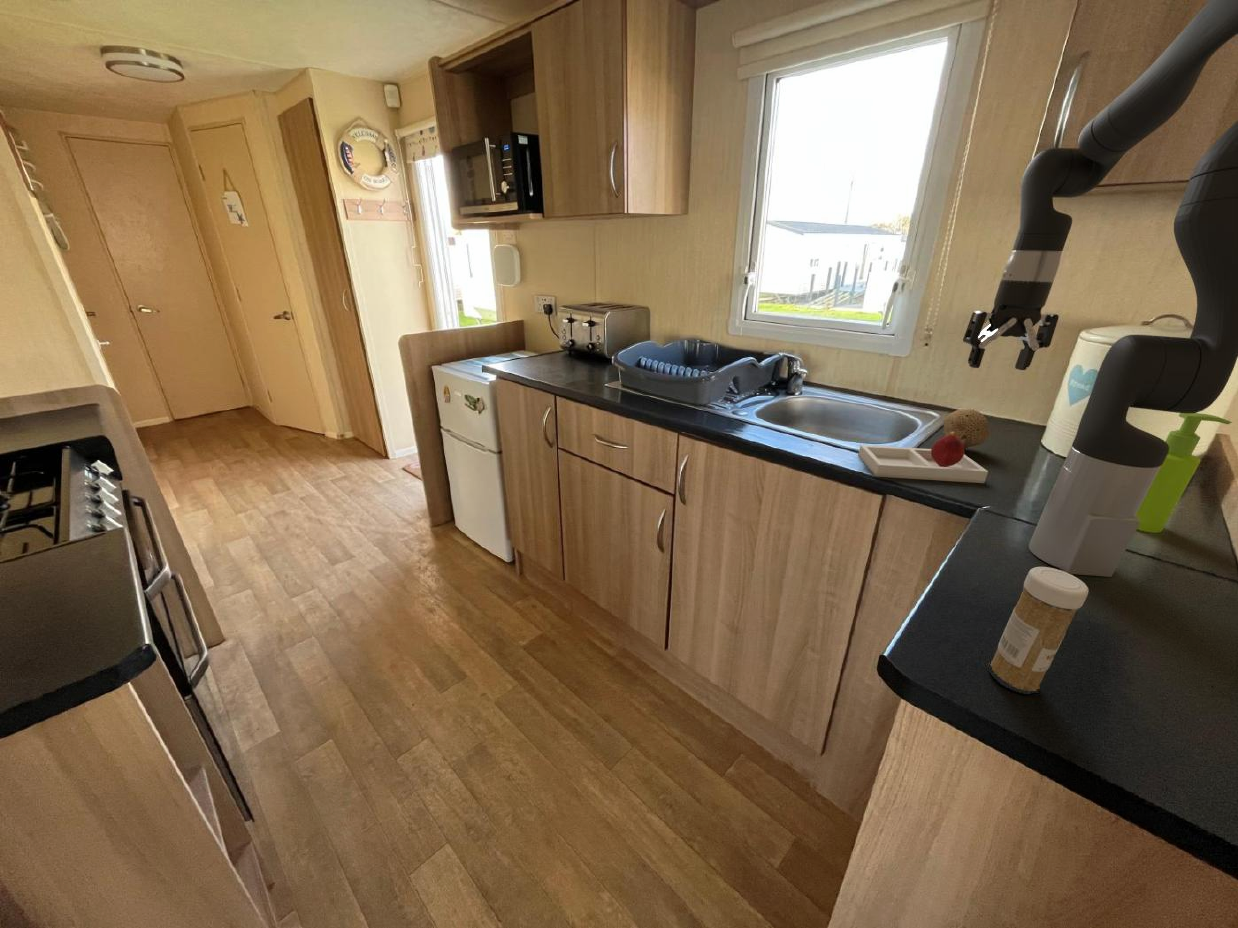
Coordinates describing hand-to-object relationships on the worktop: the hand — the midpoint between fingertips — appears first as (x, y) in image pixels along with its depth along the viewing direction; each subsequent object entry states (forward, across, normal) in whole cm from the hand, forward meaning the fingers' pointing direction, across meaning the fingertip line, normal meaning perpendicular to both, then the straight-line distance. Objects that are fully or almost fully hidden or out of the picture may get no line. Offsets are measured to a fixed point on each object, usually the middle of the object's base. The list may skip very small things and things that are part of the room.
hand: (996, 368), depth 94 cm
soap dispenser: (+23, +20, -18) cm, 35 cm away
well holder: (+22, -8, +1) cm, 24 cm away
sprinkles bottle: (+23, -25, -56) cm, 66 cm away
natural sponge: (+22, +7, +14) cm, 27 cm away
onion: (+22, -4, +1) cm, 22 cm away
